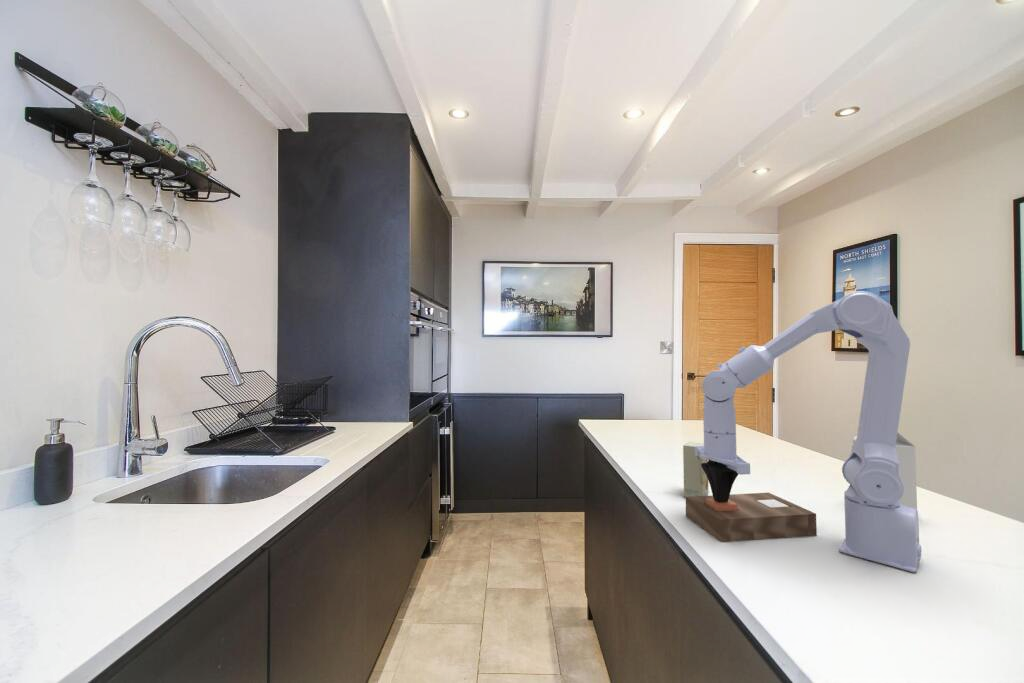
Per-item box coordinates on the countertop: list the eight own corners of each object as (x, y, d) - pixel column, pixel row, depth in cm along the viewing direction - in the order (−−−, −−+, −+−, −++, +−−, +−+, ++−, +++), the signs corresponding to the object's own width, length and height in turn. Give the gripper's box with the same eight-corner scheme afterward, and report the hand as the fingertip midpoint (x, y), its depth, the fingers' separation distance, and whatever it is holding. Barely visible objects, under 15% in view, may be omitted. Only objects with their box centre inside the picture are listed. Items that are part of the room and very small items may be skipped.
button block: (769, 511, 89) (768, 492, 89) (816, 535, 77) (816, 513, 78) (685, 516, 87) (685, 496, 87) (721, 542, 75) (721, 519, 75)
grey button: (774, 519, 85) (774, 499, 85) (789, 527, 81) (789, 506, 81) (756, 520, 85) (756, 500, 85) (771, 528, 81) (770, 507, 81)
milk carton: (889, 508, 91) (886, 420, 91) (918, 521, 84) (914, 426, 84) (854, 507, 91) (851, 420, 92) (879, 520, 84) (876, 425, 85)
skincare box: (703, 501, 96) (702, 447, 96) (683, 497, 98) (682, 445, 99) (709, 493, 101) (708, 442, 101) (690, 490, 104) (689, 440, 104)
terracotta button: (724, 517, 84) (724, 497, 84) (737, 525, 80) (737, 504, 80) (706, 518, 83) (705, 498, 83) (718, 526, 79) (717, 505, 79)
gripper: (681, 425, 89) (682, 490, 88) (723, 439, 74) (725, 516, 74) (711, 424, 90) (713, 488, 89) (760, 438, 75) (761, 514, 75)
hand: (721, 501), depth 82 cm, fingers closed, pressing on terracotta button
